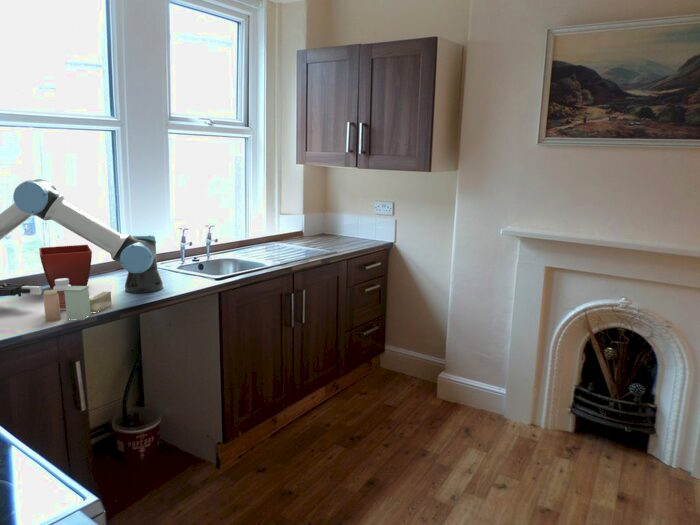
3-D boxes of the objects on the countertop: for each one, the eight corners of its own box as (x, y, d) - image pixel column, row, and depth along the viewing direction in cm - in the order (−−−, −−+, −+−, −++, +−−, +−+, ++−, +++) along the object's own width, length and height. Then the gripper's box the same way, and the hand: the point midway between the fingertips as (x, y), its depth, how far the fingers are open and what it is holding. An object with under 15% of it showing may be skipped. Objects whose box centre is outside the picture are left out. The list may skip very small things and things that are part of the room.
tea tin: (66, 320, 192) (63, 289, 190) (75, 315, 198) (72, 285, 196) (83, 320, 192) (80, 290, 190) (91, 315, 198) (88, 286, 196)
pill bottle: (76, 308, 207) (73, 279, 204) (59, 311, 202) (56, 282, 200) (69, 305, 211) (66, 276, 208) (52, 308, 206) (49, 279, 204)
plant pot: (95, 290, 234) (92, 250, 231) (44, 295, 225) (39, 254, 221) (91, 281, 250) (87, 244, 247) (43, 285, 241) (38, 247, 238)
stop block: (88, 313, 200) (87, 299, 199) (103, 304, 212) (102, 291, 211) (97, 313, 200) (95, 299, 199) (111, 304, 212) (110, 291, 211)
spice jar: (60, 316, 196) (57, 288, 194) (61, 320, 192) (58, 291, 190) (45, 318, 194) (42, 290, 192) (45, 322, 190) (42, 293, 188)
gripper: (-11, 294, 213) (50, 295, 212) (-34, 303, 200) (30, 304, 199) (-13, 275, 211) (48, 276, 211) (-37, 283, 198) (28, 284, 198)
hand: (40, 290), depth 205 cm, fingers closed
